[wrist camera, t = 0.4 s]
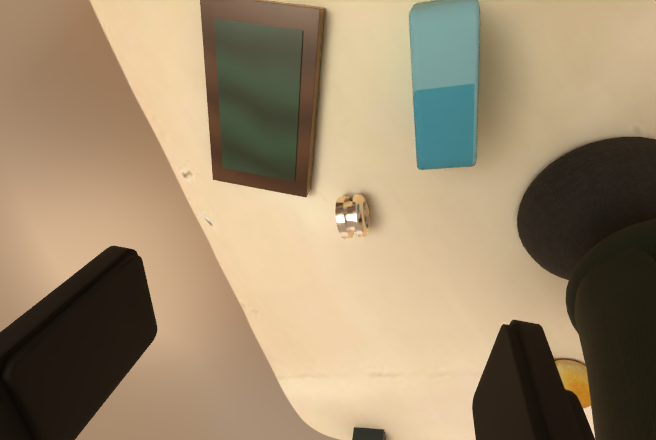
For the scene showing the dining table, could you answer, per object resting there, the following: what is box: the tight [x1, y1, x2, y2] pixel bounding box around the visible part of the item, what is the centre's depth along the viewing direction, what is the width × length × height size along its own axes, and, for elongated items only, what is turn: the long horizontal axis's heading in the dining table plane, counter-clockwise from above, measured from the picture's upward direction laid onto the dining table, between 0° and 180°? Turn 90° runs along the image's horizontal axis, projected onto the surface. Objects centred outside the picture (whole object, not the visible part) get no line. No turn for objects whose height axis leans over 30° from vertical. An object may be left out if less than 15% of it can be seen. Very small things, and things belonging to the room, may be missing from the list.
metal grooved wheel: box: [336, 194, 370, 239], centre depth 46 cm, size 5×3×5 cm, turn 15°
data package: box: [409, 0, 480, 170], centre depth 33 cm, size 12×4×12 cm, turn 10°
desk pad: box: [200, 0, 325, 197], centre depth 43 cm, size 20×12×2 cm, turn 175°
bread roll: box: [555, 360, 591, 408], centre depth 53 cm, size 8×9×4 cm
